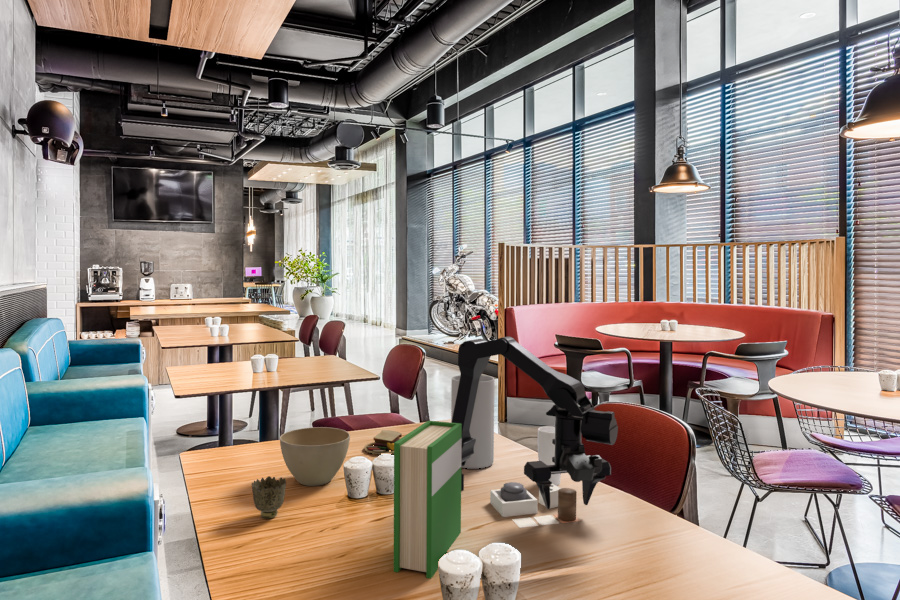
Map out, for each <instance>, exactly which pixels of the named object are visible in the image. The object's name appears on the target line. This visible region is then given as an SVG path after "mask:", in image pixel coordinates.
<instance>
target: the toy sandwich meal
mask: <svg viewBox="0 0 900 600" xmlns="http://www.w3.org/2000/svg"><path fill="white" fill-rule="evenodd" d="M402 437H403V436H402V432H399V431H396V430H389V429H386V430H385V429H383V430H381V431H380V432H379V433H377V434H376V435H375V436H374V437H373V441H374V442H373V441H372V442H370V443H367V444H365V445H364V446H363V449H364V451H366V453H368V452H369V453H368V454H370V453H372V454H371V455H374V454H381V453H392V455H394V443H395V442H396V441H398V440H399V439H401V438H402ZM373 445H374V446H373ZM389 450H391V452H389Z"/></svg>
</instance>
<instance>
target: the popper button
mask: <svg viewBox="0 0 900 600" xmlns="http://www.w3.org/2000/svg"><path fill="white" fill-rule="evenodd" d="M500 489H501V496H500V497H501V498H502V499H503V500H504V501H505V502H509V501H518V500H526V499H527V491H528V490H527V489H526V488H525V486H524V484H522V483H520V482H515V481H513V482H512V481H511V482H510V481H509V482H505V483H504V484H503V486H502V487H500Z"/></svg>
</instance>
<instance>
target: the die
mask: <svg viewBox="0 0 900 600" xmlns="http://www.w3.org/2000/svg"><path fill="white" fill-rule="evenodd" d="M561 488H562V487H560V486H559V485H557V486H556V485H554V484H551V486H550V509H554V508H558V490H559V489H561ZM538 503H539V504H540V505H542V506H544V507H546V506H545V503H544V501H543V498H542V495H541V493H540V490H539V489H538Z"/></svg>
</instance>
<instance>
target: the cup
mask: <svg viewBox="0 0 900 600" xmlns="http://www.w3.org/2000/svg"><path fill="white" fill-rule="evenodd" d="M286 485H287V480H286V478H285V477H284V478H283V477H282V476H281V477H280V478H279V479H276V476H273V477H271V476H267V477H266V478H264V477H261V479H260V480H259V479H257V478H256V481H255V480H253V482H251V489H252V499H253V504H254V506H255V508H256V509H257V510H258V511H260V517H261V518H263V519H266V520H267V519H273V518H275V517H277V515H278V510H279V509H280V508H281V507H282V505H283V504H284V501H285V495H286Z"/></svg>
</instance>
